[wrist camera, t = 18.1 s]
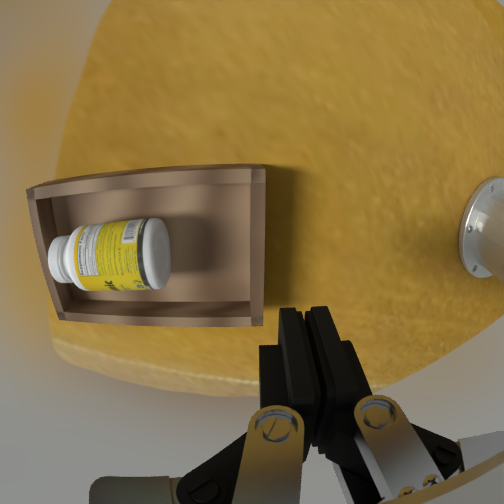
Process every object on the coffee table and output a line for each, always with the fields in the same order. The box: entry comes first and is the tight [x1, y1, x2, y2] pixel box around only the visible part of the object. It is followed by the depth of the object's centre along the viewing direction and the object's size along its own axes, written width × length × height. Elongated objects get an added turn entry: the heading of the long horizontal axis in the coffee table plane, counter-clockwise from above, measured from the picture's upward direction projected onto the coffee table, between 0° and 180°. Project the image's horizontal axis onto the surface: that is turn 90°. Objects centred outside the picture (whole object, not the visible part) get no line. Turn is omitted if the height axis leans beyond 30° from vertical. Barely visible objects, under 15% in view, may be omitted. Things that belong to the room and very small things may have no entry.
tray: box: [26, 164, 266, 327], centre depth 23 cm, size 20×13×4 cm, turn 90°
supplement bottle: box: [48, 218, 171, 291], centre depth 21 cm, size 5×5×10 cm
